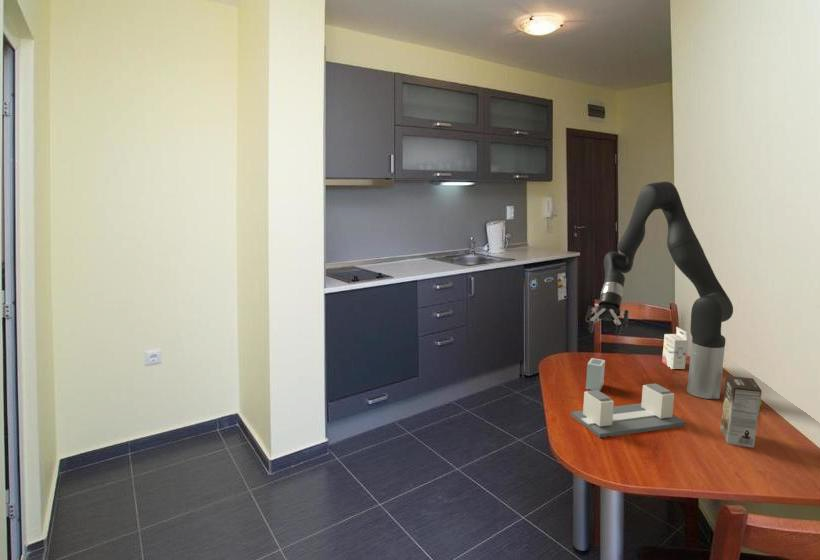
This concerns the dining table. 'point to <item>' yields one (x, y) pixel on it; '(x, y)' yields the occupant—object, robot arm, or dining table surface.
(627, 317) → the robot arm
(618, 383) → the dining table surface
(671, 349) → the ink cartridge box
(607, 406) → the module
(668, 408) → the module
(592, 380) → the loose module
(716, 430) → the dining table surface
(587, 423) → the mounting board
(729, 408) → the coffee box
